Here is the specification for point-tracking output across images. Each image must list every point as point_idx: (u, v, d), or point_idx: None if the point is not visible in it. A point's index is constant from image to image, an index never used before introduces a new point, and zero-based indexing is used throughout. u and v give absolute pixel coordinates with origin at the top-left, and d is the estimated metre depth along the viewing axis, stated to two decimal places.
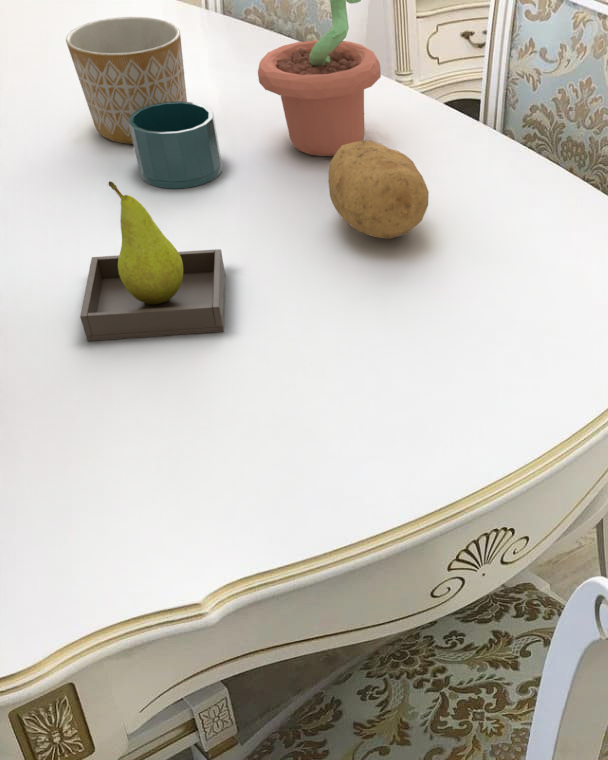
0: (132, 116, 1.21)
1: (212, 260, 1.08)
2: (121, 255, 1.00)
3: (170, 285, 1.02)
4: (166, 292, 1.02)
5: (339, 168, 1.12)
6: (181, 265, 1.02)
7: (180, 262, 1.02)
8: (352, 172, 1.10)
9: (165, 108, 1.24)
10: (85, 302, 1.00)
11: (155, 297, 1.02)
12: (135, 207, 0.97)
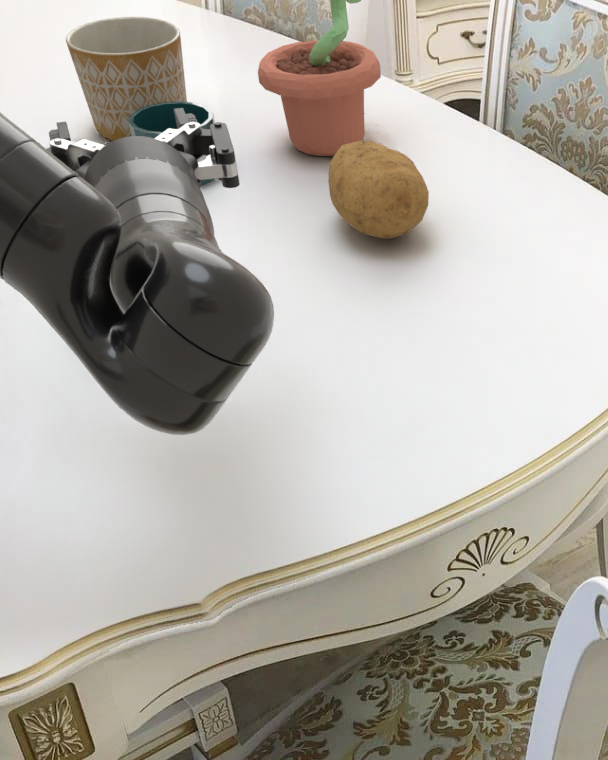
0: (132, 116, 1.21)
1: None
2: None
3: None
4: None
5: (339, 168, 1.12)
6: None
7: None
8: (352, 172, 1.10)
9: (165, 108, 1.24)
10: None
11: None
12: None
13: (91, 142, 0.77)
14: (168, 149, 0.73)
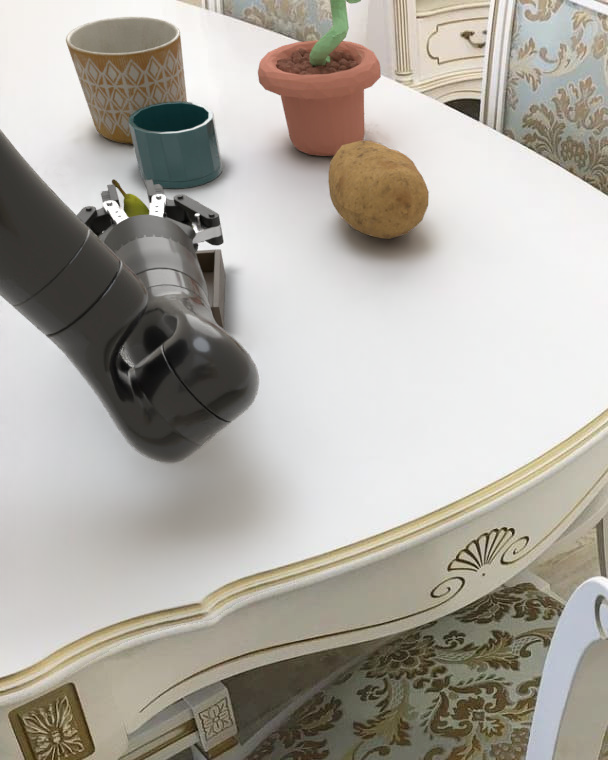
0: (132, 116, 1.21)
1: (212, 260, 1.08)
2: None
3: None
4: None
5: (339, 168, 1.12)
6: None
7: None
8: (352, 172, 1.10)
9: (165, 108, 1.24)
10: None
11: None
12: (138, 206, 0.98)
13: (122, 211, 0.94)
14: (170, 225, 0.89)
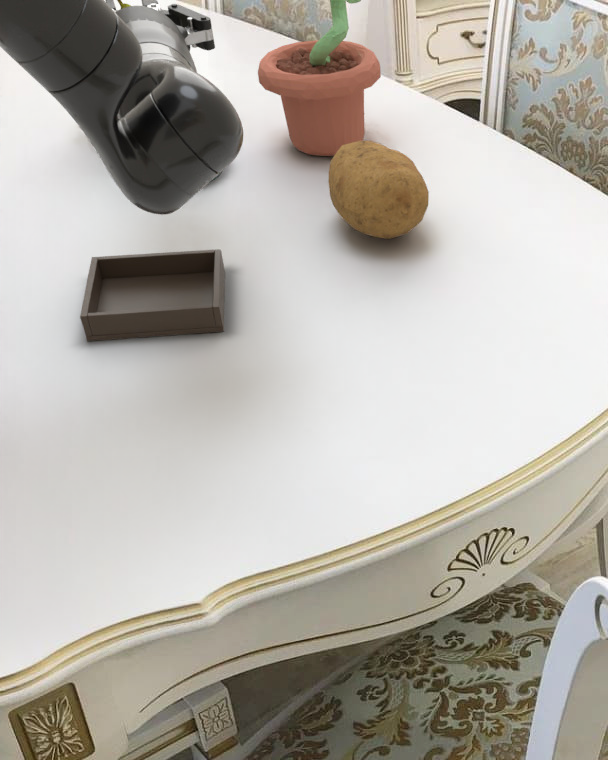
0: None
1: (212, 260, 1.08)
2: None
3: None
4: None
5: (339, 168, 1.12)
6: None
7: None
8: (352, 172, 1.10)
9: None
10: (85, 302, 1.00)
11: None
12: None
13: None
14: (163, 16, 0.94)
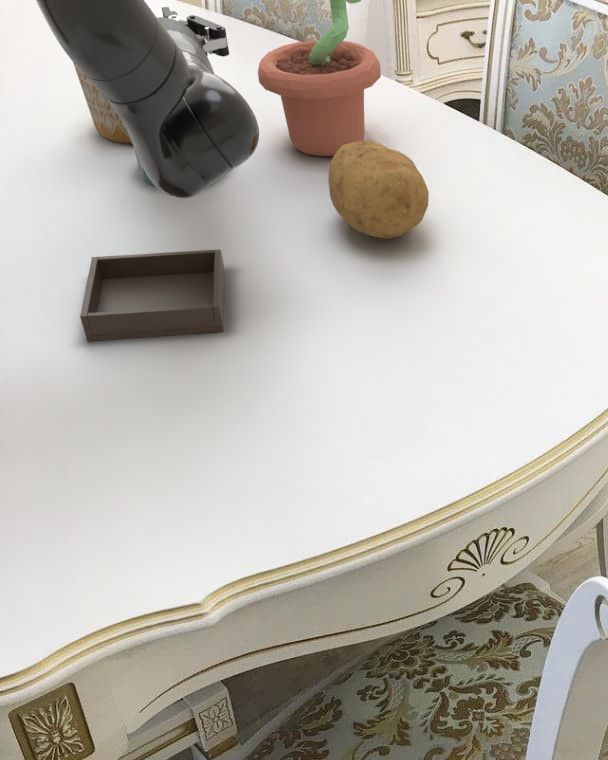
0: None
1: (212, 260, 1.08)
2: None
3: None
4: None
5: (339, 168, 1.12)
6: None
7: None
8: (352, 172, 1.10)
9: None
10: (85, 302, 1.00)
11: None
12: None
13: None
14: (184, 26, 1.06)
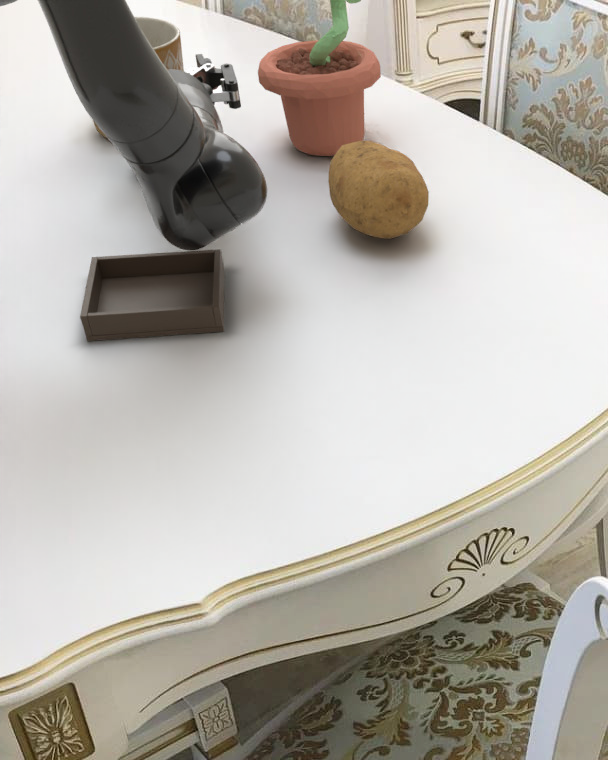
0: None
1: (212, 260, 1.08)
2: None
3: None
4: None
5: (339, 168, 1.12)
6: None
7: None
8: (352, 172, 1.10)
9: None
10: (85, 302, 1.00)
11: None
12: None
13: None
14: (193, 78, 1.09)
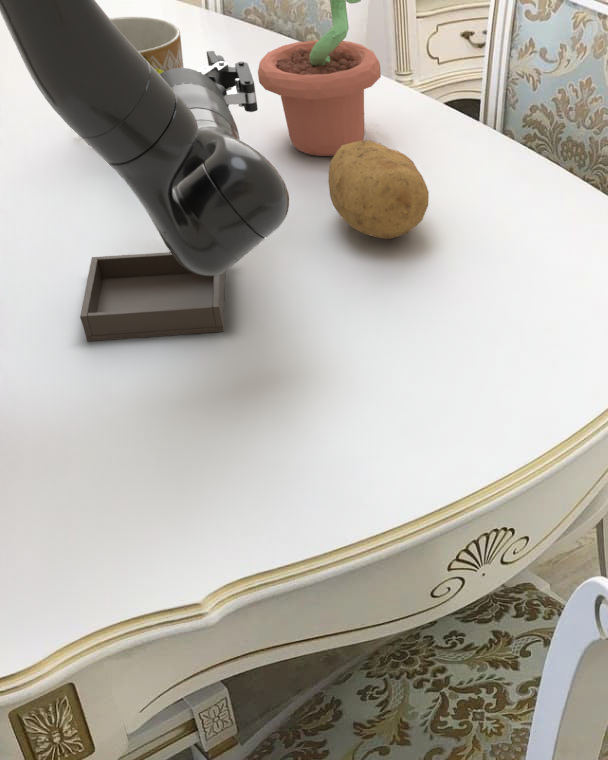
0: None
1: None
2: None
3: None
4: None
5: (339, 168, 1.12)
6: None
7: None
8: (352, 172, 1.10)
9: None
10: (85, 302, 1.00)
11: None
12: None
13: None
14: (205, 78, 0.98)
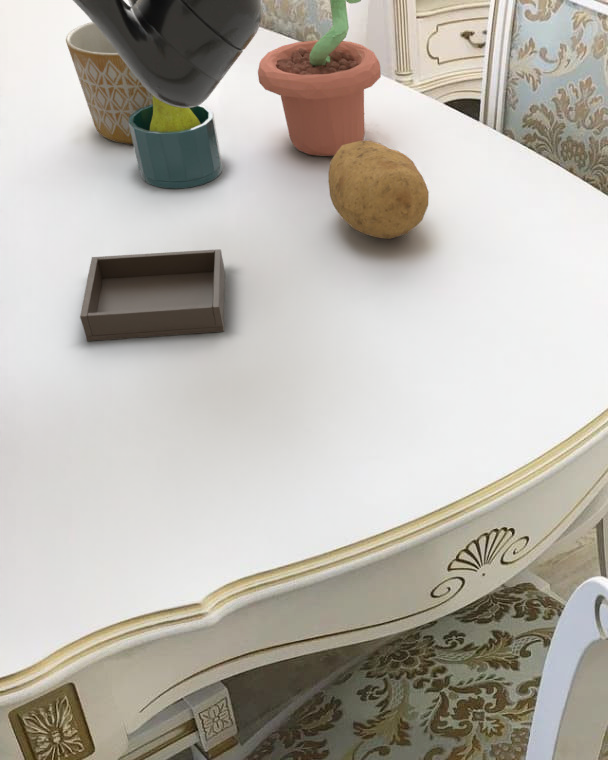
0: (132, 116, 1.21)
1: (212, 260, 1.08)
2: (152, 122, 1.20)
3: None
4: None
5: (339, 168, 1.12)
6: None
7: None
8: (352, 172, 1.10)
9: None
10: (85, 302, 1.00)
11: None
12: None
13: None
14: None
